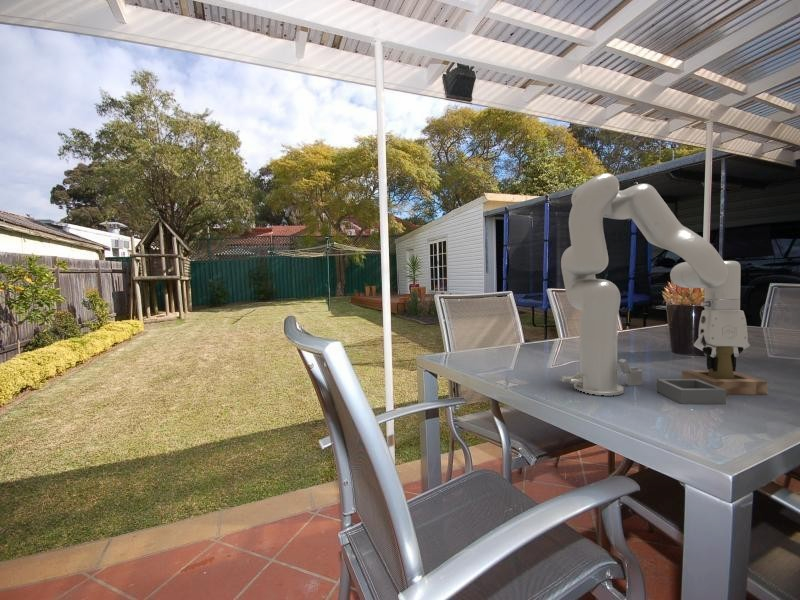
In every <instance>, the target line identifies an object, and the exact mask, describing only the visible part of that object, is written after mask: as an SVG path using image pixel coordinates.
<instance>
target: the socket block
mask: <svg viewBox="0 0 800 600" xmlns="http://www.w3.org/2000/svg"><path fill="white" fill-rule="evenodd" d="M708 372H709V370H708V369H695V370H694V369H692V370H691V369H690V370H689V369H683V370H681V373H682V374H681V379H698V380H701V381H704V382H706V383H709V384H712V385H714V386H717V387H720V388H722V389H725V390H726V396H727V395H731V396H734V395H735V396H737V395H741V396H742V395H743V396H744V395H746V396H748V395H749V396H750V395H751V396H752V395H754V396H756V395H757V396H758V395H759V396H761V395H762V396H763V395H765V396H767V395H768V381H767V380H763V379H760V378H757V377H753V376H751V375H748V374H743V373H740V372H736V371H734V372H733V374H734V379H715V378H712V377H709V376H708Z"/></svg>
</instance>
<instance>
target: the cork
mask: <svg viewBox="0 0 800 600" xmlns="http://www.w3.org/2000/svg"><path fill="white" fill-rule="evenodd" d="M710 350H711V347H710ZM733 351H734V349H733V347H717V348H716V356H715V357H717V358H718V366H717V371H716V372H714V371H713V369H712V368H710V370H709V372H708V376H709V377H712V378H715V379H734V374H733V367H732V361H731V355H732V354H733Z"/></svg>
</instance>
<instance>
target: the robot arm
mask: <svg viewBox="0 0 800 600" xmlns="http://www.w3.org/2000/svg"><path fill="white" fill-rule="evenodd" d="M570 199H571V201H570V202H571V204H572V206H571V209H570V212H569V217H568V229H569V230H568V231H569V239H570V246H569V247H567V248H566V249H565V250H564V251H563V253H562V256H561V258H560V259H561V261H560V269H561V274H562V279H563V284H564V290H565V294H566V298H567V300H568V303H569V304H570V305H571V307H574V308H575V309H576V310H579V311H581V314H580V318H579V323H578V324H579V327H578V328H579V329H578V334H579V335H578V336H579V371H575V373H576V374H573V375H562V376H561V381H562V383H569V384H570V385H571V384H572V385H573V388H574V389H575V390H576V389H577V390H576V391H578V390H579V391H578V392H580V391H582V392H581V393H583V392H585V393H584V394H587V393H589V394H588V395H592V394H595V395H594V396H601V395H604V396H605V397H608V396H609V397H610V396H613V395H614V396H619V395H623V393H625V391H624V390H625V387H624V386H622V385H621V384H619V383H618V318H619V312H620V311H619V310H620V305H621V292H620V289H619V288H618V287H617V285H616V284H615V283H613V282H612V281H610V280H607V279H602V278H597V277H596V275H597V274H600V273H602V272H603V271H605V270H606V268H607V267H608V266H609V255H608V253H609V252H608V249H607V242H606V238H605V233H604V222H603V221H604V218H606V219H607V218H608V219H611V220H612V219H613V220H628V219H631V220H632V222H633V223H634V224H635V225H636V226H637V228H638V229H639V231H640V232H641V234H642V235H643V236H644V238H645V239H646V241H647V242H648V243H649V244H651V245H653V246H656V247H658V248H661V249H664V250H667V251H670V252H672V253H674V254H675V255H677V256H679V257H680V258H682V259H683V260H684V262H680V263H677V264H676V265H674V267H672V268H671V271H670V274H669V276H670V277H669V278H670V281H672V283H673V284H674V285H676V286H677V287H681V288H684V289H685V288H686V289H704V301H701V302H700V306H701V307H703V308H704V309H703V310H702V311H701V313H700V318H699V324H698V335H697V336H698V338H697V339H696V341H694V343H693V347H695V348H697V349H699V351H701V352H702V353H703V355H704V356H706V368H707V369H706V370H710V368H712V369H713V371H714V372H716V371H717V366H718V358H717V357H715V356H716V348H717V347H733V349H734V351H733V354H732V355H731V361H732V367H733V372H736V370H737V369H736V368H737V358H738V357H739V355H740V354H741V353H742V352H743V351H744V350H746V349H748V348H749V347H750V346H751V344H750V342H749V340H748V339H749V338H748V335H749V334H748V325H747V324H748V323H747V319H746V315H745V312H744V310H741V277H742V276H741V272H742V271H741V267H742V266H741V264H740V262H739V261H736V260H724V259H723V257H722V256H721V254H719V252H718V251H717V249H716V248H715V247H714V245H713V244H712V243H710V242H709V241H708V240H707V239H705V238H704V237H702V236H701V235H699V234H698V233H696V232H694V231H693V230H692V229H689V228H688V227H687V226H684V225H683V224H682V223H681V222H680V221H679V220H678V219H677V217H676V215H675V214H674V213H673V211H672V210H671V208H670V207H669V206H668V204H667V203H666V201H664V199H663V198H662V197H661V195H660V194H659V192H658V190H657V189H656V188H655V187H654V186H653V185H651V184H649V183H639V184H635V185H632V186H629V187H628V188H626V189H624V190H620V182H619V179H618V178H617V176H616V175H614V174H612V173H601V174H597V175H596V176H593V177H592V178H590V179H588V180H587V181H586V182H584V183H583V184H580V185H579V186H578V187H576V188H575V189H574V191H573V193H572V195H571V197H570ZM710 347H711V350H710ZM604 396H603V397H604Z"/></svg>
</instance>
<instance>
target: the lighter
mask: <svg viewBox="0 0 800 600" xmlns="http://www.w3.org/2000/svg"><path fill="white" fill-rule="evenodd" d="M617 364H618V365H619V367H620V369H621V372H622V373H623V374H625V375H626V376H625V377H626V385H627V386H630V387H635V386H634V385H637V386H642V385H643V370H642V369H639V368H638V366H629V365H628V361H627V359H624V358H620V359H617Z"/></svg>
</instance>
